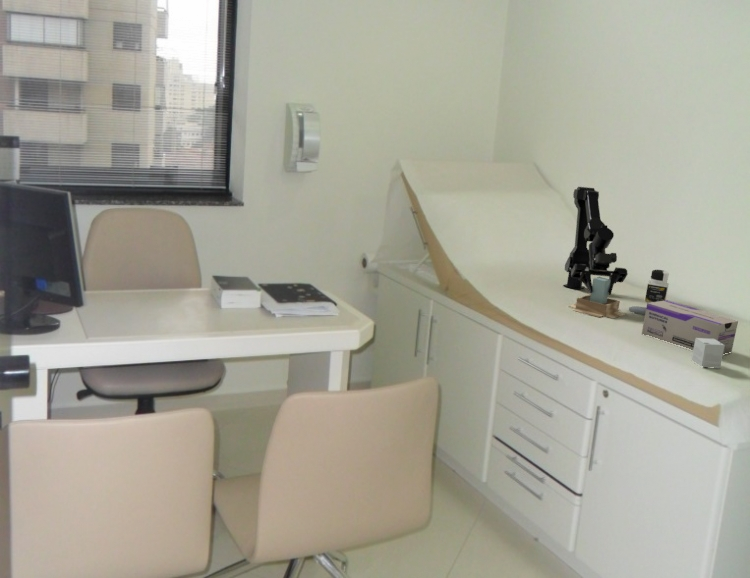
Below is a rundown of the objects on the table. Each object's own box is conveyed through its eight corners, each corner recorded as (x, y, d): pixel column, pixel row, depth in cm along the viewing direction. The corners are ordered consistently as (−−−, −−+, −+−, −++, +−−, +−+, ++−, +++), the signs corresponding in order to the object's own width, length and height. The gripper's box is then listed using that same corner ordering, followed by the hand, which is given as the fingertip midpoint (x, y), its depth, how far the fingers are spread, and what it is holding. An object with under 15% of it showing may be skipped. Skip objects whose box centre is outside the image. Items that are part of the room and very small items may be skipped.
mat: (635, 306, 303) (635, 304, 303) (662, 313, 297) (662, 311, 297) (624, 310, 296) (624, 308, 296) (651, 317, 290) (651, 315, 290)
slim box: (593, 308, 295) (598, 276, 292) (605, 311, 292) (610, 279, 289) (588, 309, 292) (593, 278, 289) (599, 313, 289) (605, 281, 286)
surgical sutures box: (641, 334, 267) (647, 303, 265) (660, 331, 274) (666, 300, 271) (712, 358, 248) (719, 324, 246) (731, 354, 255) (738, 321, 252)
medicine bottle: (644, 301, 313) (650, 270, 310) (646, 297, 319) (651, 267, 316) (664, 304, 310) (670, 273, 307) (665, 301, 317) (671, 270, 314)
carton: (585, 301, 303) (587, 291, 302) (629, 312, 293) (631, 301, 292) (563, 308, 291) (565, 297, 290) (608, 320, 280) (610, 308, 279)
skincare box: (709, 361, 244) (714, 338, 242) (720, 369, 238) (725, 344, 237) (690, 361, 243) (695, 337, 241) (701, 368, 237) (706, 343, 236)
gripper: (578, 241, 290) (580, 278, 282) (630, 246, 290) (634, 284, 282) (569, 258, 299) (571, 295, 291) (620, 263, 300) (624, 300, 292)
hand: (600, 293), depth 289 cm, fingers closed on slim box, 6 cm apart
